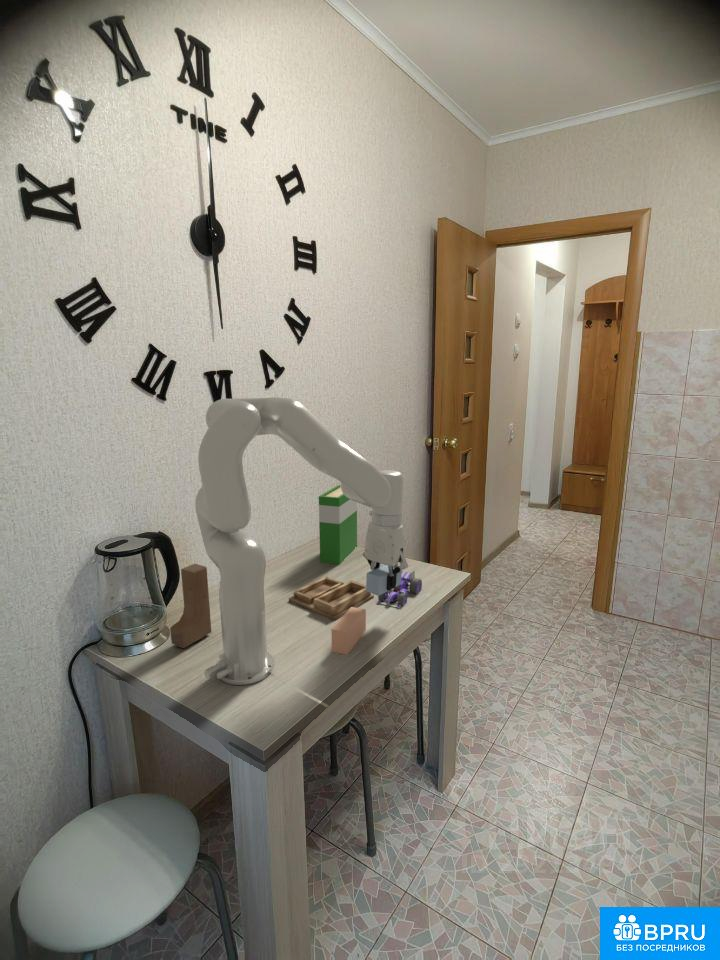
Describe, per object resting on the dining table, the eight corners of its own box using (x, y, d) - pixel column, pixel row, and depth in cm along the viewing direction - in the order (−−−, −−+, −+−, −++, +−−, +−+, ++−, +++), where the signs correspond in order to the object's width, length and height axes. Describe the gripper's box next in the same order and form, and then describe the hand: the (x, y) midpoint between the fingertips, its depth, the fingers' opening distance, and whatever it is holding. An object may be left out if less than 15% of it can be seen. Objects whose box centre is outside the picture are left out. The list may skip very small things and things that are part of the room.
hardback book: (338, 546, 187) (338, 485, 182) (357, 548, 185) (356, 486, 179) (320, 563, 171) (318, 496, 165) (340, 565, 168) (339, 498, 163)
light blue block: (378, 595, 124) (379, 577, 123) (366, 591, 126) (366, 573, 125) (401, 584, 131) (401, 566, 130) (389, 580, 134) (389, 562, 133)
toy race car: (372, 605, 140) (372, 584, 139) (393, 585, 153) (393, 566, 152) (403, 612, 136) (403, 591, 135) (422, 591, 149) (422, 571, 148)
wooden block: (183, 649, 118) (177, 579, 114) (170, 643, 120) (164, 575, 116) (212, 632, 125) (207, 566, 121) (200, 627, 128) (194, 562, 124)
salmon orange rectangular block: (347, 655, 115) (347, 632, 114) (331, 651, 117) (331, 628, 115) (365, 631, 126) (365, 609, 125) (351, 628, 128) (351, 606, 126)
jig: (334, 620, 131) (334, 608, 130) (288, 601, 142) (288, 589, 142) (373, 598, 144) (373, 587, 143) (328, 582, 155) (328, 571, 154)
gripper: (352, 515, 128) (350, 581, 131) (405, 528, 117) (401, 600, 121) (370, 510, 133) (367, 573, 137) (422, 522, 123) (418, 591, 126)
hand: (383, 585), depth 129 cm, fingers closed on light blue block, 4 cm apart
